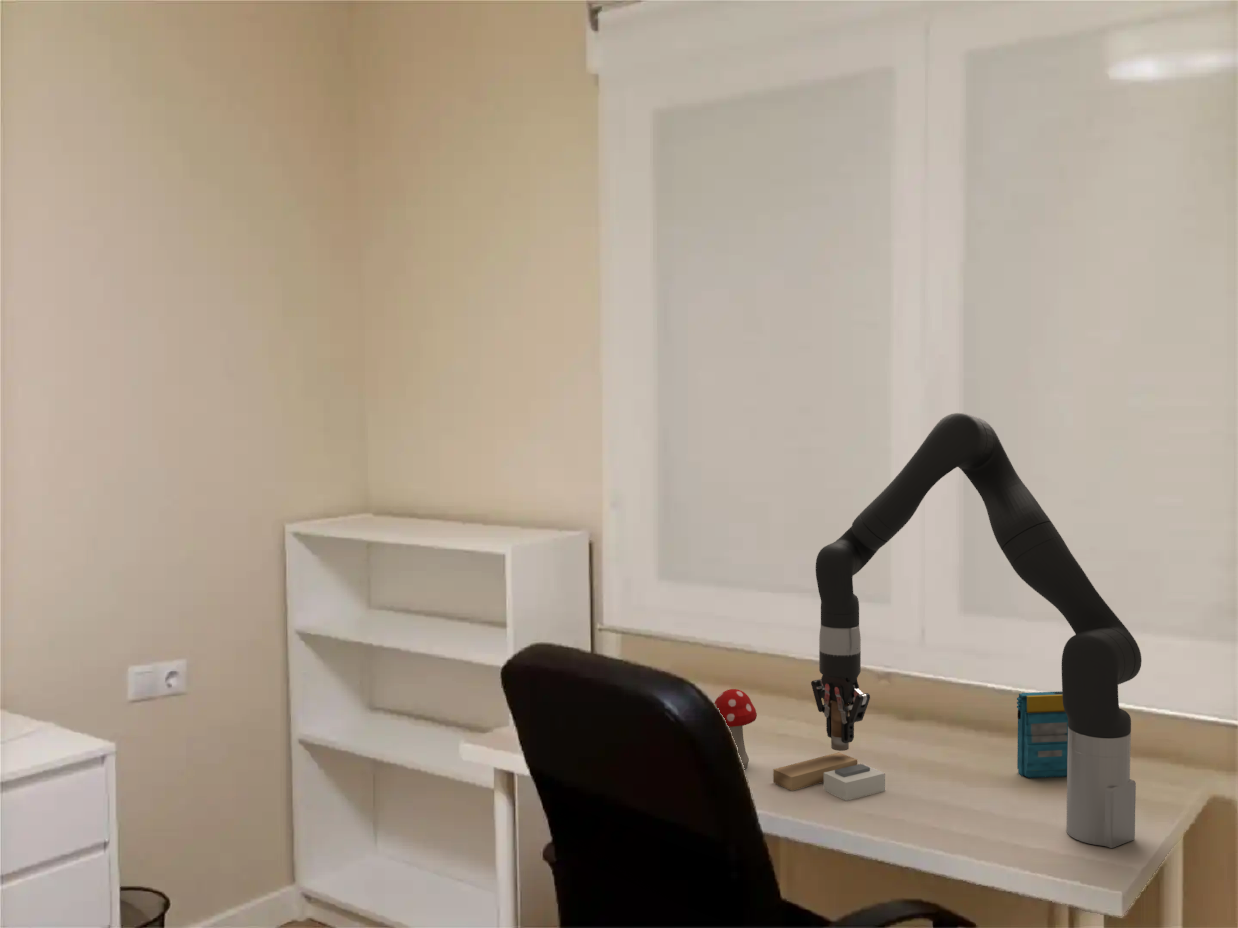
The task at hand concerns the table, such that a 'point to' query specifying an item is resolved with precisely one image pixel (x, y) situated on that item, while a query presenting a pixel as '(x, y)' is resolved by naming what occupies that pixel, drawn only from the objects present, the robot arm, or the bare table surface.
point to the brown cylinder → (837, 728)
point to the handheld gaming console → (1042, 735)
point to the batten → (810, 771)
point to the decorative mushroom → (737, 716)
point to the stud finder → (854, 781)
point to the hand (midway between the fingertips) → (839, 739)
